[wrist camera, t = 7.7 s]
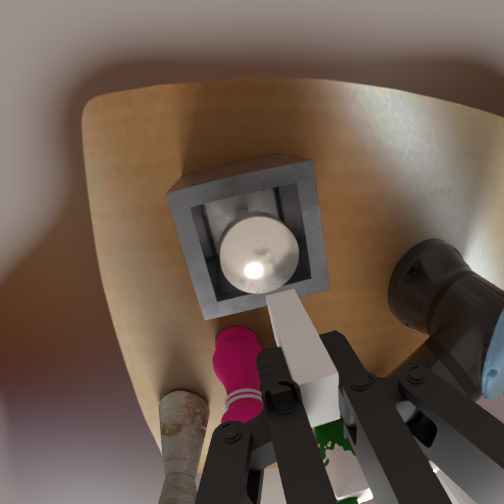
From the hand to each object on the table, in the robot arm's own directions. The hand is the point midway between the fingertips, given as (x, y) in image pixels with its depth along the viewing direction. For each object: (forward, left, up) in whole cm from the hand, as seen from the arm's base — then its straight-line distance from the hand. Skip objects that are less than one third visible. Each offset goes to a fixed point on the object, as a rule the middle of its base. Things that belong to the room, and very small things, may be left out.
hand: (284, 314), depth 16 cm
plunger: (0, 0, -23) cm, 23 cm away
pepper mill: (+5, +19, -24) cm, 31 cm away
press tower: (0, 0, -24) cm, 24 cm away
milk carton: (-8, +49, -24) cm, 55 cm away
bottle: (+17, +30, -24) cm, 42 cm away
